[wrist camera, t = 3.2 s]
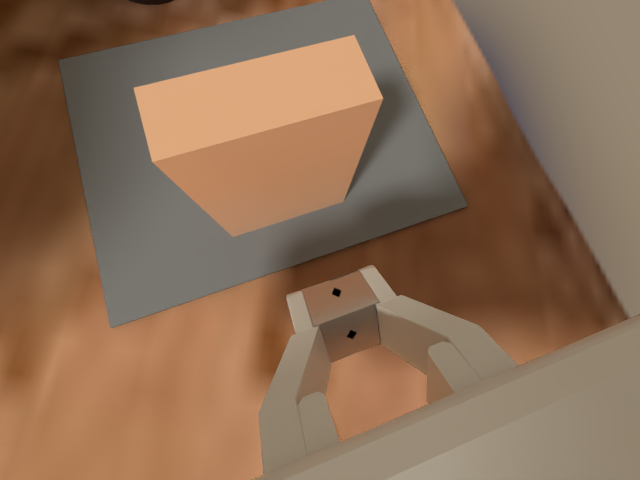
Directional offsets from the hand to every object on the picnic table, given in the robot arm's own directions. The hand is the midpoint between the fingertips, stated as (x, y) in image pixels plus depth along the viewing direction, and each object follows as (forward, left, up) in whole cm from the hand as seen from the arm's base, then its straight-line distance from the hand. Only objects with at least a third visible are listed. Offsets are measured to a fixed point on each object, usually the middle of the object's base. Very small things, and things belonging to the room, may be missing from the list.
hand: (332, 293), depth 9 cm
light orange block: (0, +6, -7) cm, 9 cm away
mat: (0, +11, -7) cm, 13 cm away
